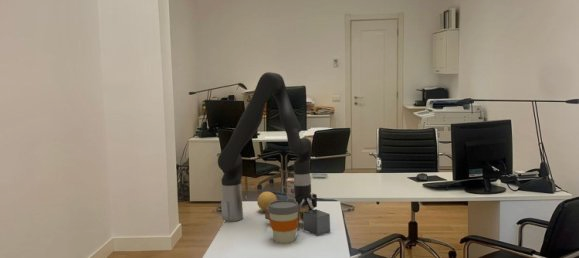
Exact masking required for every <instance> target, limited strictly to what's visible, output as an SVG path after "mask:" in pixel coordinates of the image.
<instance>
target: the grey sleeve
mask: <svg viewBox="0 0 579 258" xmlns="http://www.w3.org/2000/svg"><path fill="white" fill-rule="evenodd" d="M303 221H304V222H303V231H305V232H307V233H310V234H312V235H314V236H316V237H317V236H323V235H325V234H329V233H331V216H330V213H329V212H328V213H327V212H326V211H321V210H319V209H316V208H314V209H313V210H311V211H307V212H303Z"/></svg>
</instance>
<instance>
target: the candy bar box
mask: <svg viewBox="0 0 579 258" xmlns="http://www.w3.org/2000/svg"><path fill="white" fill-rule="evenodd" d="M285 186H286V188H285V190H286V200H289V199H294V198H295V193H294V178H286V180H285Z"/></svg>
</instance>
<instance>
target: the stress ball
mask: <svg viewBox="0 0 579 258" xmlns="http://www.w3.org/2000/svg"><path fill="white" fill-rule="evenodd" d="M274 201H278V199H277V196H276V195H275V194H274V193H273V192H271V191H263V192H262V193H260V194H259V195H258V197H257V202H256V203H257V206H258V207H259V209H260V210H261V211H263V212H265V208H267V207H269V204H270V203H271V202H274Z"/></svg>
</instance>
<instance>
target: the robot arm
mask: <svg viewBox="0 0 579 258" xmlns="http://www.w3.org/2000/svg"><path fill="white" fill-rule="evenodd" d="M282 76H283V75H281V74H279V73H276V72H269V71H267V72H265V73H262V75H261V76H260V78H259V80H258V81H257V84H256V86H255V89H254V91H253V94H252V96H251V98H250V100H249V102H248V104H247V106H246V108H244V111H243V112H242V115H241V116H240V118H239V120H238V122H237V125H236V127H235V128H234V130H233V132H232V134H231V136H230V137H229V140H228V142H227V144H226V145H225V147H224V148H223V150H222V151H221V152H220V154H219V156H218V158H217V165H218V168H219V169H220V170H221V171H223V175H222V178H221V192H222V193H221V196H222V197H221V198H222V199H221V200H220V203H221V204H220V205H221V206H220V208H221V220H223V221H225V222H227V223H230V222H238V221H242V220H243V219H244V209H243V207H244V206H243V191H242V177H243V159H242V155H241V152H242V151H243V149H244V147H245V146H246V145H247V143H249V141H250V140H251V139H252V138H253V137H254V136H255V134H256V132H257V131H258V129H259V127H260V125H261V123H262V121H263V117H264V112H265V111H264V109H265V106H266V103H267V102H268V100H269V99H270V97H271V95H272V96H273V98H274V100H275V102H276V104H277V108H278V113H279V114H278V115H279V119H280V122H281V124H282V126H283V129H284V131H285V133H286V139H287V144H288V148H289V150H290V152H291V153H292V154H293V155H295V156H297V158H296V160H295V161H294V162H293V173H294V175H293V179H294V193H295V198H294V199H289V200H292V201H296V202H297V203H298V205H299V206H298V207H299V209H301V207H302V206H304V205H307V206H308V208H309V209H308V210H310V211H311V210H315V209H316V208H317V207H318V199H317V197H318V195H317V193H314V192H313V193H312V180H311V179H312V176H311V171H310V170H311V169H310V167H311V166H310V163H311V158H312V153H313V145H312V142H311V140H310V139H309V138H308V137H300V133H301V131H302V127H301V124H300V122H299V120H298V118H297V115H296V114H295V111H294V108H293V106H292V103H291V100H290V98H289V95H288V90H287V87H286V84H285V80H284V78H283V77H282ZM310 200H311V201H310ZM298 212H299V211H298ZM298 222H300V220H299V213H298Z"/></svg>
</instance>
